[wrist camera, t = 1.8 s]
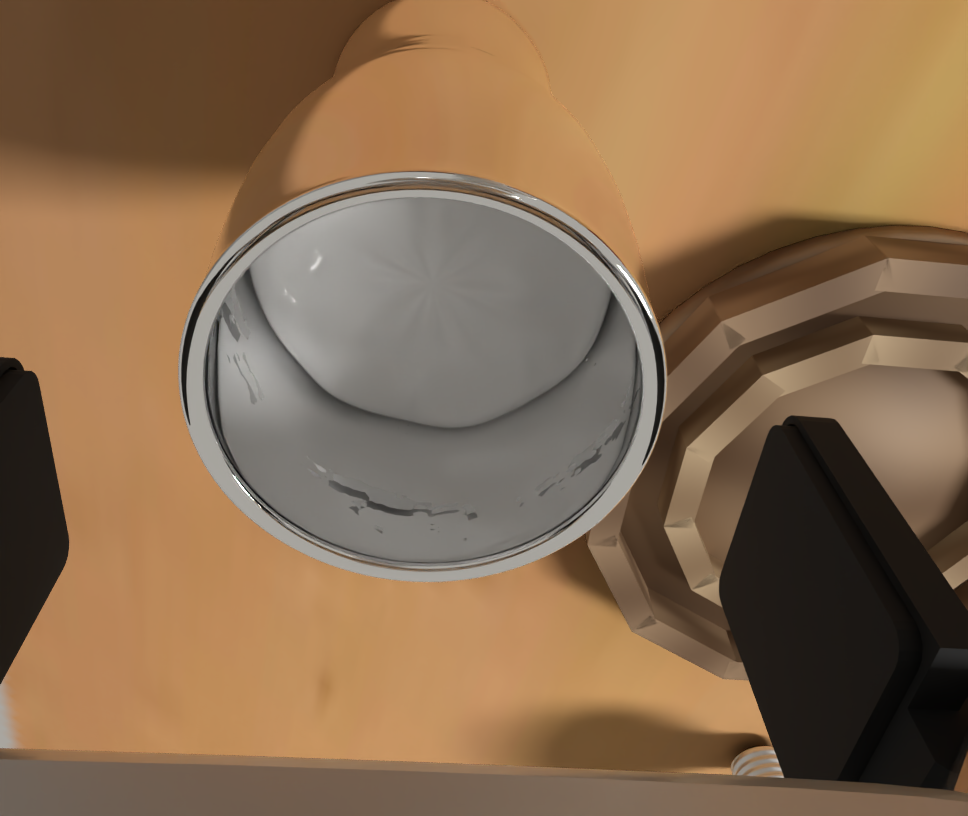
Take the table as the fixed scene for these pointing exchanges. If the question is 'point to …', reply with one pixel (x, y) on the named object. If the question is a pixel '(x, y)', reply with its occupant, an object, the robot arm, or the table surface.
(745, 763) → the lightbulb
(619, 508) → the tray
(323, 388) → the beer glass
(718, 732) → the table surface
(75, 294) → the table surface
